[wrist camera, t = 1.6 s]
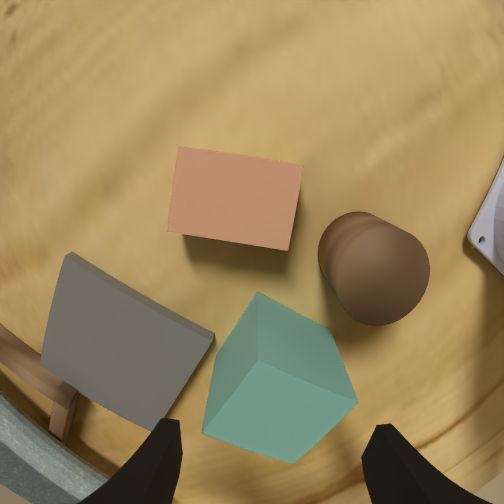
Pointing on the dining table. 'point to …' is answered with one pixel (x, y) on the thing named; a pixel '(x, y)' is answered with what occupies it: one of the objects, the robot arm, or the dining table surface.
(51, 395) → the brown wooden frame
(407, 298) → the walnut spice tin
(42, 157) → the dining table surface
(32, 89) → the dining table surface
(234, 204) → the terracotta box
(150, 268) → the dining table surface
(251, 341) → the teal block
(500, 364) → the dining table surface
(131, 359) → the slate coaster
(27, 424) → the aluminum foil
